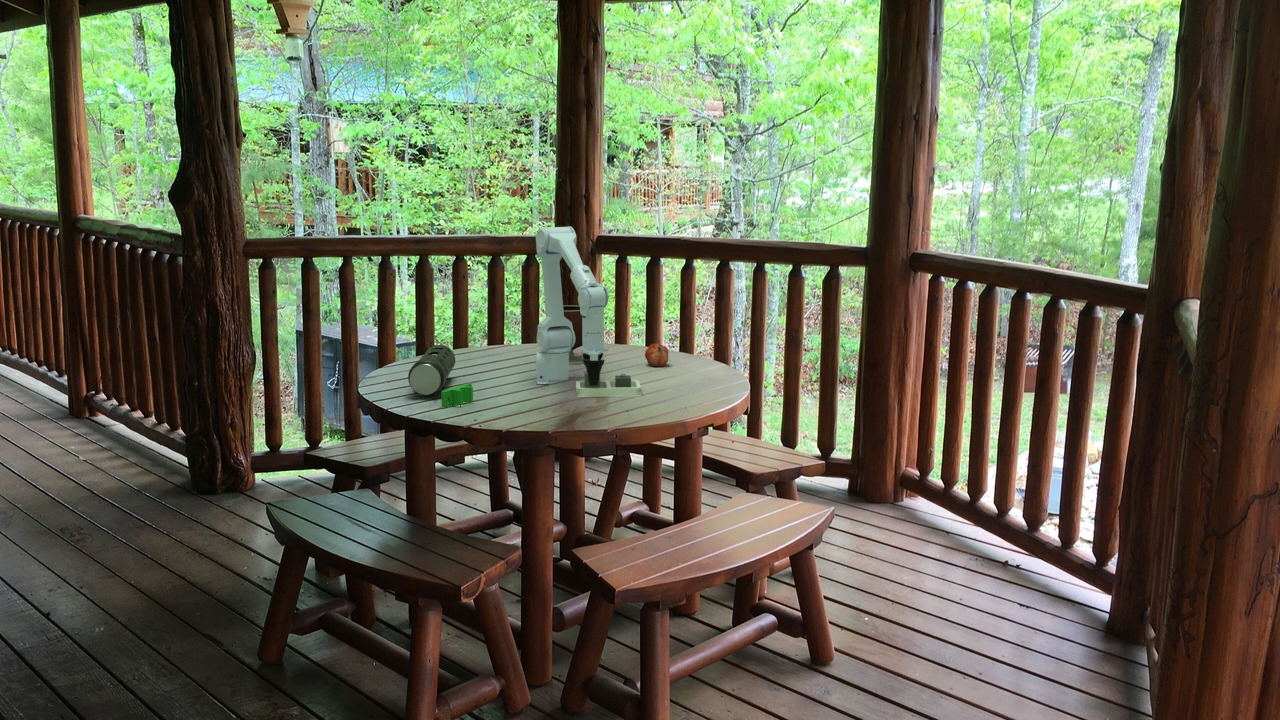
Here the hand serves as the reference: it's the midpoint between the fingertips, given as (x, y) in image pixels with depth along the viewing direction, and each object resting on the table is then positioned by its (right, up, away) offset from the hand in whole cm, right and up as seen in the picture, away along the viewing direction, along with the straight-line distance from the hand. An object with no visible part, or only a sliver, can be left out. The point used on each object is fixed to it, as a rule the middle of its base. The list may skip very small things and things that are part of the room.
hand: (593, 382), depth 260 cm
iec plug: (0, -2, 0) cm, 3 cm away
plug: (+8, -3, +1) cm, 8 cm away
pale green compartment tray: (+4, -4, +1) cm, 6 cm away
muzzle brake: (-45, -2, +9) cm, 46 cm away
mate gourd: (-11, +5, +49) cm, 51 cm away
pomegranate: (+18, +4, +44) cm, 47 cm away
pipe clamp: (-34, -6, -9) cm, 35 cm away
